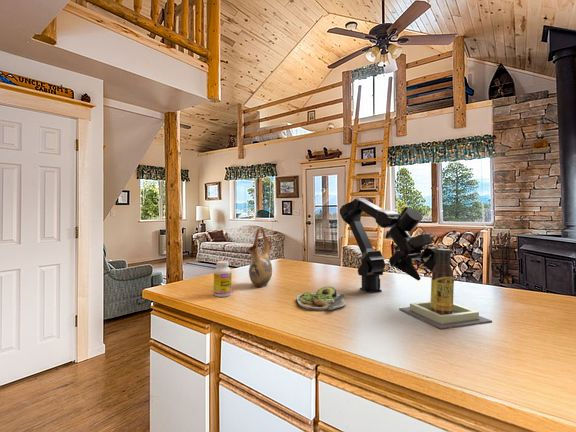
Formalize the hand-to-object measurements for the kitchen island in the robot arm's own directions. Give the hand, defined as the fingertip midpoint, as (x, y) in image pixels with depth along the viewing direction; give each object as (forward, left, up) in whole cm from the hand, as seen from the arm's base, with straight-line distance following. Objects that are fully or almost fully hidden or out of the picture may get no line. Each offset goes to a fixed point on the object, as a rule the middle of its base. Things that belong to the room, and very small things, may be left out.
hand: (429, 278), depth 102 cm
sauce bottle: (+1, -4, -10) cm, 11 cm away
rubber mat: (+1, -5, -10) cm, 12 cm away
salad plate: (-29, +19, -11) cm, 37 cm away
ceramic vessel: (-44, +50, -11) cm, 68 cm away
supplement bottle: (-61, +40, -11) cm, 74 cm away
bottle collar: (+1, -5, -10) cm, 12 cm away
